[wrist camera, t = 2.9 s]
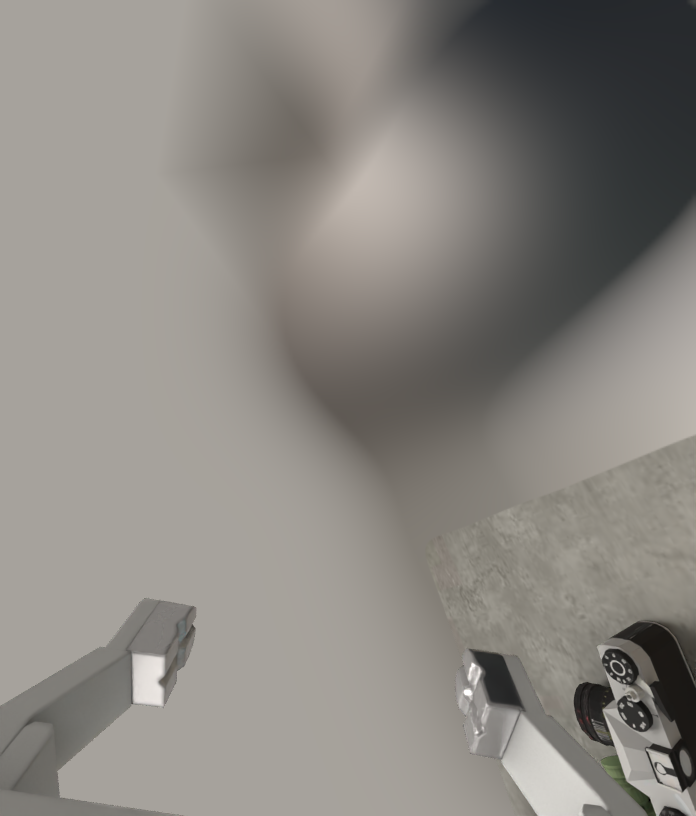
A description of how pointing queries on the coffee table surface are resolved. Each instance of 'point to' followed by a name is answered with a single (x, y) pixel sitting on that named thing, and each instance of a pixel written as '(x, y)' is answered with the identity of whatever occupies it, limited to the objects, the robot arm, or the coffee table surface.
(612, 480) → the coffee table surface
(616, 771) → the knife
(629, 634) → the camera
